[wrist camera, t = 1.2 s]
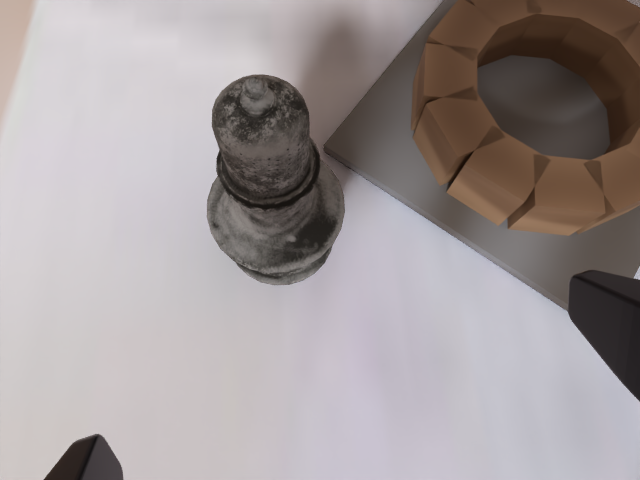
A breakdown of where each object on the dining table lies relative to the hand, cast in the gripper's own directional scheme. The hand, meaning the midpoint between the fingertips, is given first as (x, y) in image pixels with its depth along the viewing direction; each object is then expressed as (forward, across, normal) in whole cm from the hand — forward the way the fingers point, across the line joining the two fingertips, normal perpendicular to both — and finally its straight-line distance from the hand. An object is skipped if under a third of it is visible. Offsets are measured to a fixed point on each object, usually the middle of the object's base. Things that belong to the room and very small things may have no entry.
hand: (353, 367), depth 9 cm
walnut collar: (+16, -15, +3) cm, 22 cm away
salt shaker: (+15, 0, +4) cm, 15 cm away
